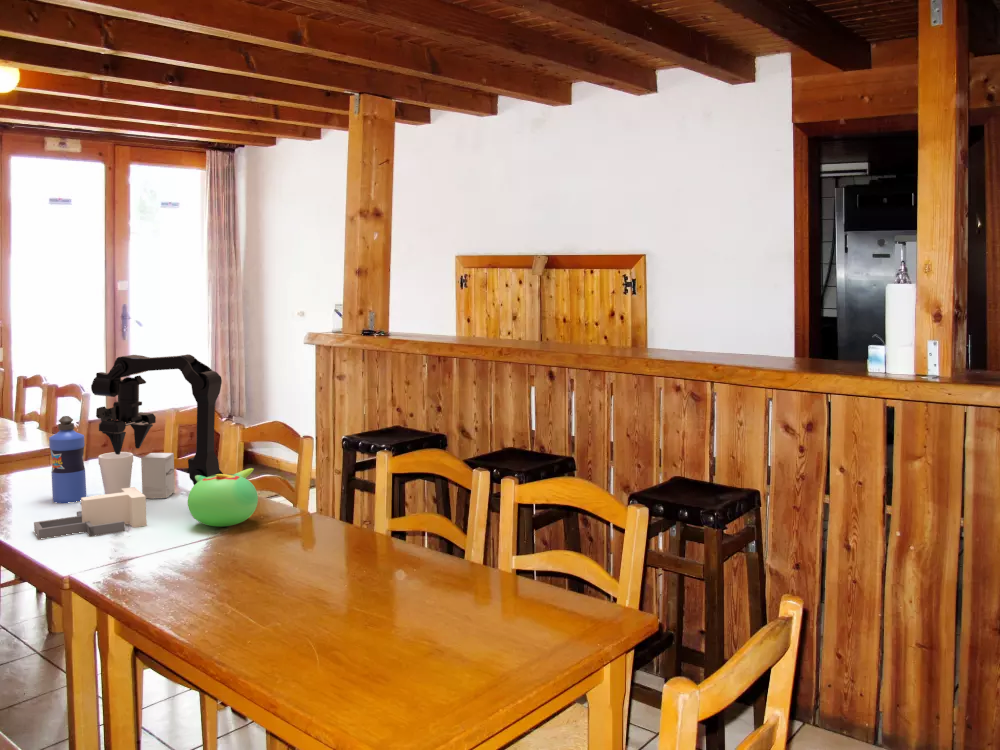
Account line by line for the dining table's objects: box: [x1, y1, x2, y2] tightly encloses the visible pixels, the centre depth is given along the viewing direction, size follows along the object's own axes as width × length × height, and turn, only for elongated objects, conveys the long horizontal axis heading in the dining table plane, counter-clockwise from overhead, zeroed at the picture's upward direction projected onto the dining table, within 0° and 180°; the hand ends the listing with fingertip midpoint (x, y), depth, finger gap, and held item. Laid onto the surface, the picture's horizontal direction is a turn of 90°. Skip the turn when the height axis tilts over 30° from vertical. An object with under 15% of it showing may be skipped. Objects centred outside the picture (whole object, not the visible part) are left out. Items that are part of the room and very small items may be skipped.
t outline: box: [33, 510, 126, 540], centre depth 231 cm, size 20×17×2 cm
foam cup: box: [97, 451, 134, 495], centre depth 263 cm, size 10×9×13 cm
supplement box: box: [140, 452, 176, 499], centre depth 266 cm, size 7×7×13 cm
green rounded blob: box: [187, 467, 259, 528], centre depth 236 cm, size 18×17×15 cm
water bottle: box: [48, 415, 87, 504], centre depth 259 cm, size 9×9×25 cm
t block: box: [80, 486, 148, 528], centre depth 236 cm, size 14×12×8 cm
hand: (127, 451), depth 256 cm, fingers open, 9 cm apart
